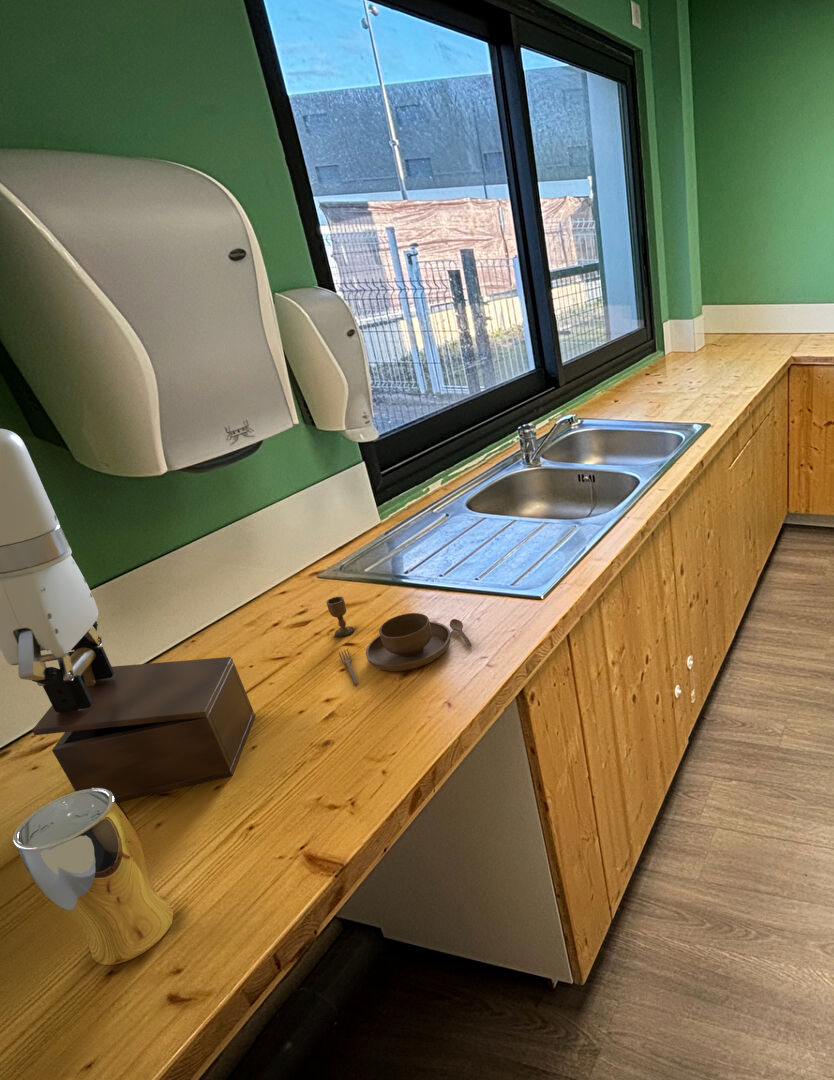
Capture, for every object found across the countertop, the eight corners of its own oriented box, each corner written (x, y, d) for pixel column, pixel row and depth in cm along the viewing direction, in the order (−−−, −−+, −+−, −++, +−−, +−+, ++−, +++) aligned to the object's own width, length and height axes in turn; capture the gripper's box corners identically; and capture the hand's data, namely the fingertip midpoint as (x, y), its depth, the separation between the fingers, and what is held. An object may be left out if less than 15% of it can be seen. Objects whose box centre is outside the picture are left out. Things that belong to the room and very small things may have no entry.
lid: (33, 735, 74) (18, 691, 72) (83, 674, 84) (71, 634, 82) (206, 717, 80) (197, 676, 77) (233, 661, 89) (225, 623, 87)
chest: (85, 810, 79) (51, 750, 75) (126, 743, 89) (97, 688, 85) (232, 775, 83) (206, 717, 80) (255, 716, 93) (233, 661, 90)
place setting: (355, 694, 97) (344, 659, 94) (329, 632, 112) (319, 600, 109) (479, 649, 106) (472, 616, 103) (440, 597, 121) (433, 567, 118)
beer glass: (86, 930, 66) (11, 814, 59) (175, 887, 70) (115, 773, 63) (86, 987, 61) (5, 866, 54) (183, 937, 65) (118, 819, 58)
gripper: (17, 524, 78) (80, 659, 86) (-81, 593, 64) (5, 749, 71) (98, 515, 81) (152, 648, 88) (21, 580, 66) (94, 732, 74)
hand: (86, 692), depth 80 cm, fingers closed on lid, 5 cm apart
